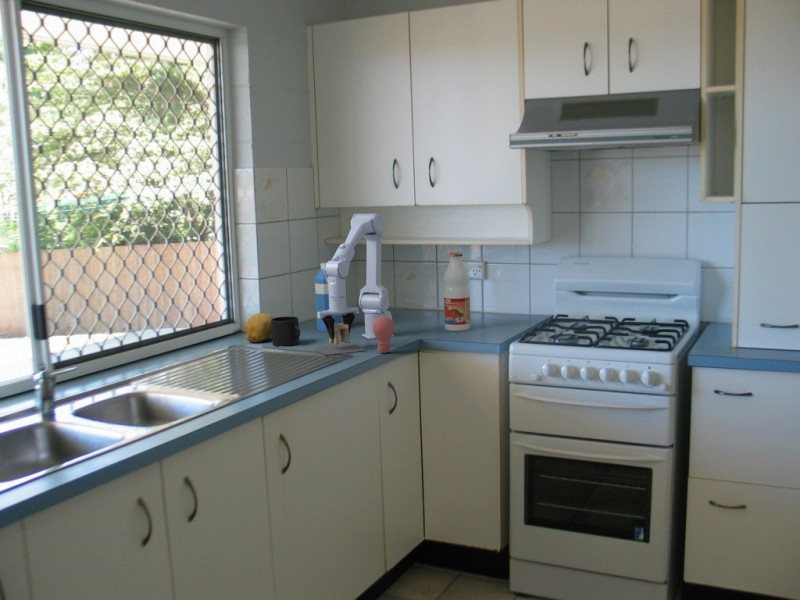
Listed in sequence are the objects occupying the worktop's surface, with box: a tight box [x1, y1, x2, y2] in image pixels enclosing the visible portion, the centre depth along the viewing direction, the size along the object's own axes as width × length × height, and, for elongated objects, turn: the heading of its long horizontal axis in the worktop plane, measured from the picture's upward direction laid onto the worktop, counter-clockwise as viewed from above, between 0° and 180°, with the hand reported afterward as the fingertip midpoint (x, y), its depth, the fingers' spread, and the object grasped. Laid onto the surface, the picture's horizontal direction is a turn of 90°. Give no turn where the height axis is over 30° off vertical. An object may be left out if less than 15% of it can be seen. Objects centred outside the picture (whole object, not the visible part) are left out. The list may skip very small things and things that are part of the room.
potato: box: [245, 312, 274, 343], centre depth 304 cm, size 10×12×10 cm
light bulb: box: [373, 317, 396, 354], centre depth 275 cm, size 7×7×12 cm
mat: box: [313, 342, 368, 356], centre depth 284 cm, size 14×14×1 cm
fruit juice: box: [443, 252, 471, 332], centre depth 311 cm, size 9×9×28 cm
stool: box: [328, 323, 351, 345], centre depth 284 cm, size 5×5×6 cm
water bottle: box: [314, 262, 342, 332], centre depth 321 cm, size 9×9×25 cm
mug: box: [271, 315, 301, 347], centre depth 295 cm, size 9×12×9 cm
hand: (339, 337), depth 284 cm, fingers closed on stool, 5 cm apart
